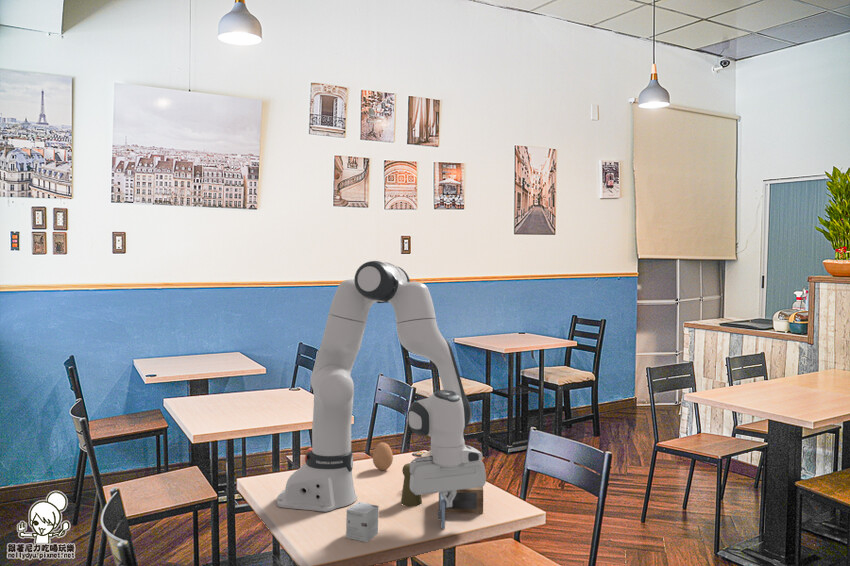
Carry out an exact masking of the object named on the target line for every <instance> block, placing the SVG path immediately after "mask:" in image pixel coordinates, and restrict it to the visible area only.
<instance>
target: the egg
mask: <svg viewBox="0 0 850 566" xmlns="http://www.w3.org/2000/svg"><path fill="white" fill-rule="evenodd" d="M393 454H394V453H393V451H392V449H391V447H390V445H389V444H388V443H386V442H382V441H381V442H379V443H378V444H376V446H375V447H374V450H373V453H372V463H373V465H374V466H375V468H376V469H377V470H379V471H381V472H382V471H383V472H384V471H387V470H388V469H389V468H390V467H391V466H392V464H393V461H394V460H393V459H394V455H393Z"/></svg>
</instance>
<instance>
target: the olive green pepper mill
mask: <svg viewBox="0 0 850 566" xmlns="http://www.w3.org/2000/svg"><path fill="white" fill-rule="evenodd" d="M410 463H411V462H409V463H406V464H404V465H403V467H402V470H401V471H402V475H403V477H404V478H403V485H402V491H401V492H402V493H401V499H400V503H401V505H402V504H403V506H404V505H405V507H418V505H419V506H420V504H421V505H422V503H423V500H422V495H415V494H414V493H413V492H412V491H411V490H410V475H411V474H410Z"/></svg>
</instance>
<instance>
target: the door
mask: <svg viewBox="0 0 850 566" xmlns="http://www.w3.org/2000/svg"><path fill="white" fill-rule="evenodd" d="M437 520H440V526H441V529H445V528H446V513H445V501H444V499H443V497H442V496H441V494H440V492H438V509H437Z"/></svg>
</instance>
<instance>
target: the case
mask: <svg viewBox="0 0 850 566" xmlns="http://www.w3.org/2000/svg"><path fill="white" fill-rule="evenodd" d="M449 495H450V492H449V491H448V495H446V497H447V499H448V497H449ZM447 513H454V514H455V513H456V514H484V486H483V487H476V488H469V489H461V490H456V496H455V498H454V499H453V501H452V507H449V508H446V507H445V514H447Z"/></svg>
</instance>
